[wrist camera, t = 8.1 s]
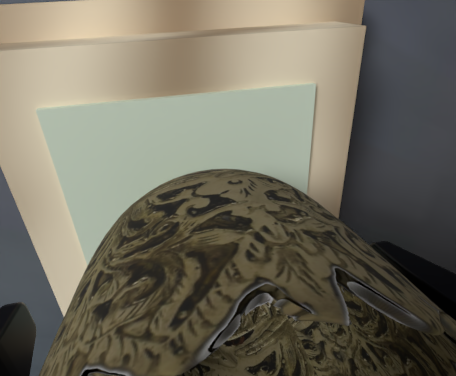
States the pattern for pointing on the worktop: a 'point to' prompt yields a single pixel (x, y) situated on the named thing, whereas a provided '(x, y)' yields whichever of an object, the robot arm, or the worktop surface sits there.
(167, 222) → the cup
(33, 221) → the oak plinth
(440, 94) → the worktop surface
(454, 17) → the worktop surface
